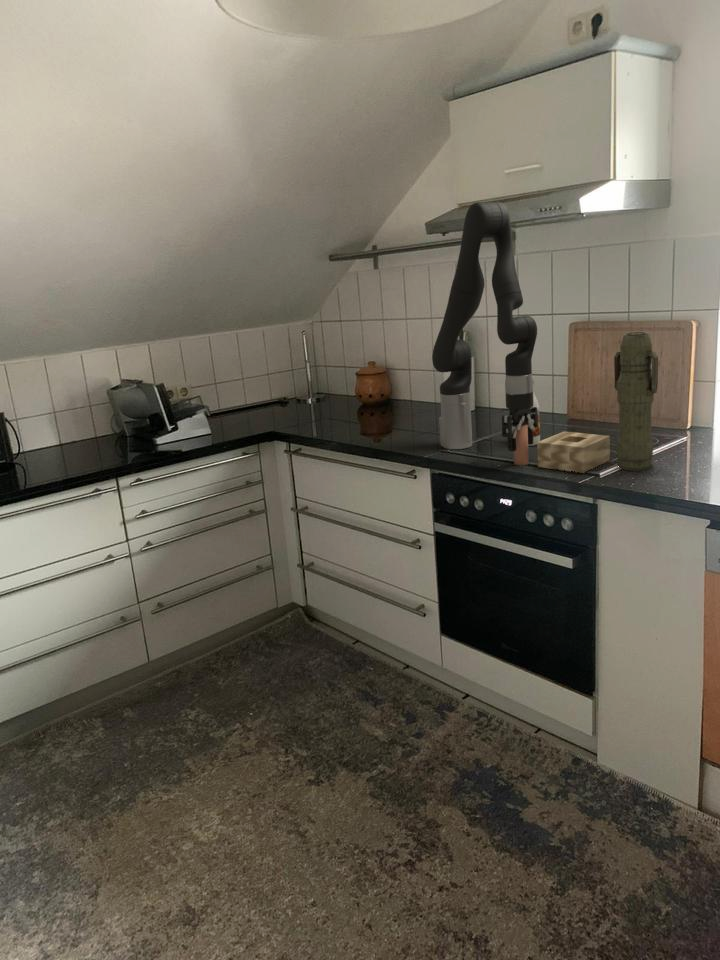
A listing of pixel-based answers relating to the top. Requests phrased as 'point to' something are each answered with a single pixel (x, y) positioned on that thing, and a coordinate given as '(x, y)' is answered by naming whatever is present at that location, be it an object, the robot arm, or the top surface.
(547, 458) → the bore block
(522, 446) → the dowel pin
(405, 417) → the top surface
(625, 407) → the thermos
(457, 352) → the robot arm
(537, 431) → the milk bottle
